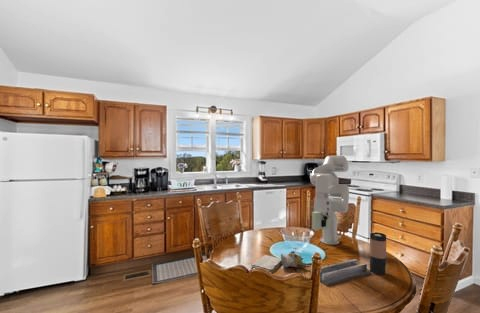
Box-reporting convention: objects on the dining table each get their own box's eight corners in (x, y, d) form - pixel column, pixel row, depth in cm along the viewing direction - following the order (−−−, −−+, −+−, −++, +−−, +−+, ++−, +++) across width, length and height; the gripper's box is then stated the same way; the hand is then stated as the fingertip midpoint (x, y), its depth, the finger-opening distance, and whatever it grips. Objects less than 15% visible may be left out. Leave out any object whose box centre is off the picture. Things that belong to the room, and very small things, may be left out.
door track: (351, 264, 138) (352, 257, 138) (371, 273, 127) (371, 266, 127) (310, 274, 125) (310, 266, 125) (327, 286, 114) (327, 277, 114)
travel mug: (385, 276, 124) (386, 237, 124) (368, 272, 128) (369, 235, 128) (386, 270, 130) (386, 233, 130) (369, 267, 134) (370, 231, 134)
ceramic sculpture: (278, 247, 139) (303, 247, 141) (277, 262, 139) (302, 262, 141) (284, 255, 128) (311, 255, 130) (283, 271, 128) (309, 271, 130)
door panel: (327, 226, 149) (327, 210, 149) (330, 228, 146) (331, 211, 146) (311, 228, 144) (311, 211, 144) (315, 230, 142) (315, 213, 142)
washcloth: (250, 269, 131) (250, 264, 131) (264, 257, 146) (264, 252, 146) (270, 275, 125) (270, 269, 125) (283, 262, 140) (283, 257, 140)
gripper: (337, 196, 139) (336, 229, 139) (317, 192, 154) (317, 221, 154) (327, 197, 136) (326, 230, 136) (308, 193, 151) (307, 222, 151)
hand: (321, 225), depth 145 cm, fingers closed on door panel, 3 cm apart
